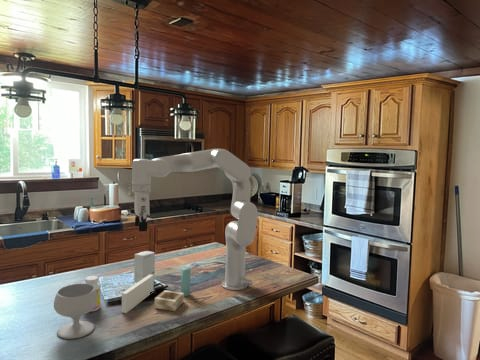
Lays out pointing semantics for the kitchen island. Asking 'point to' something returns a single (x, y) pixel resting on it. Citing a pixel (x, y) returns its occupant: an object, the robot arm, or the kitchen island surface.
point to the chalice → (75, 309)
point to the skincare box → (144, 265)
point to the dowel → (185, 281)
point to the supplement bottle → (93, 281)
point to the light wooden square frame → (169, 300)
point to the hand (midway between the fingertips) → (140, 228)
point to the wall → (137, 293)
